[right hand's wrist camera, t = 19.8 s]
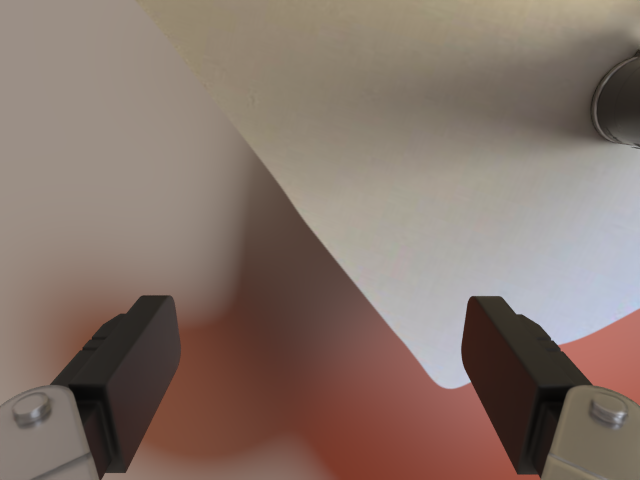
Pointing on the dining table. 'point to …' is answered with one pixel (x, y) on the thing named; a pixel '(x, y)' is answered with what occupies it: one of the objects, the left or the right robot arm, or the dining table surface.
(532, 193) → the dining table surface
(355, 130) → the dining table surface
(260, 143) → the dining table surface
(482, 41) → the dining table surface
